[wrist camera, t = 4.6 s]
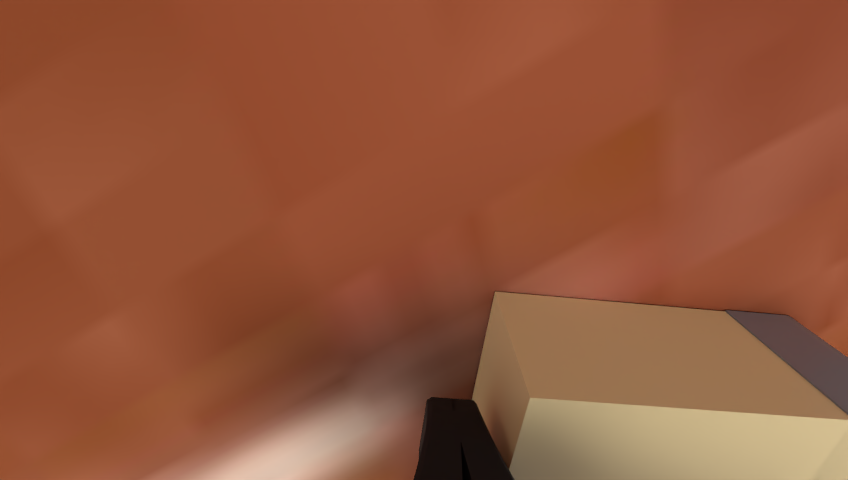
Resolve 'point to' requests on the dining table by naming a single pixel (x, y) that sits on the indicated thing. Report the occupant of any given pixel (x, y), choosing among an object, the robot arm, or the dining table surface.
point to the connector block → (659, 393)
